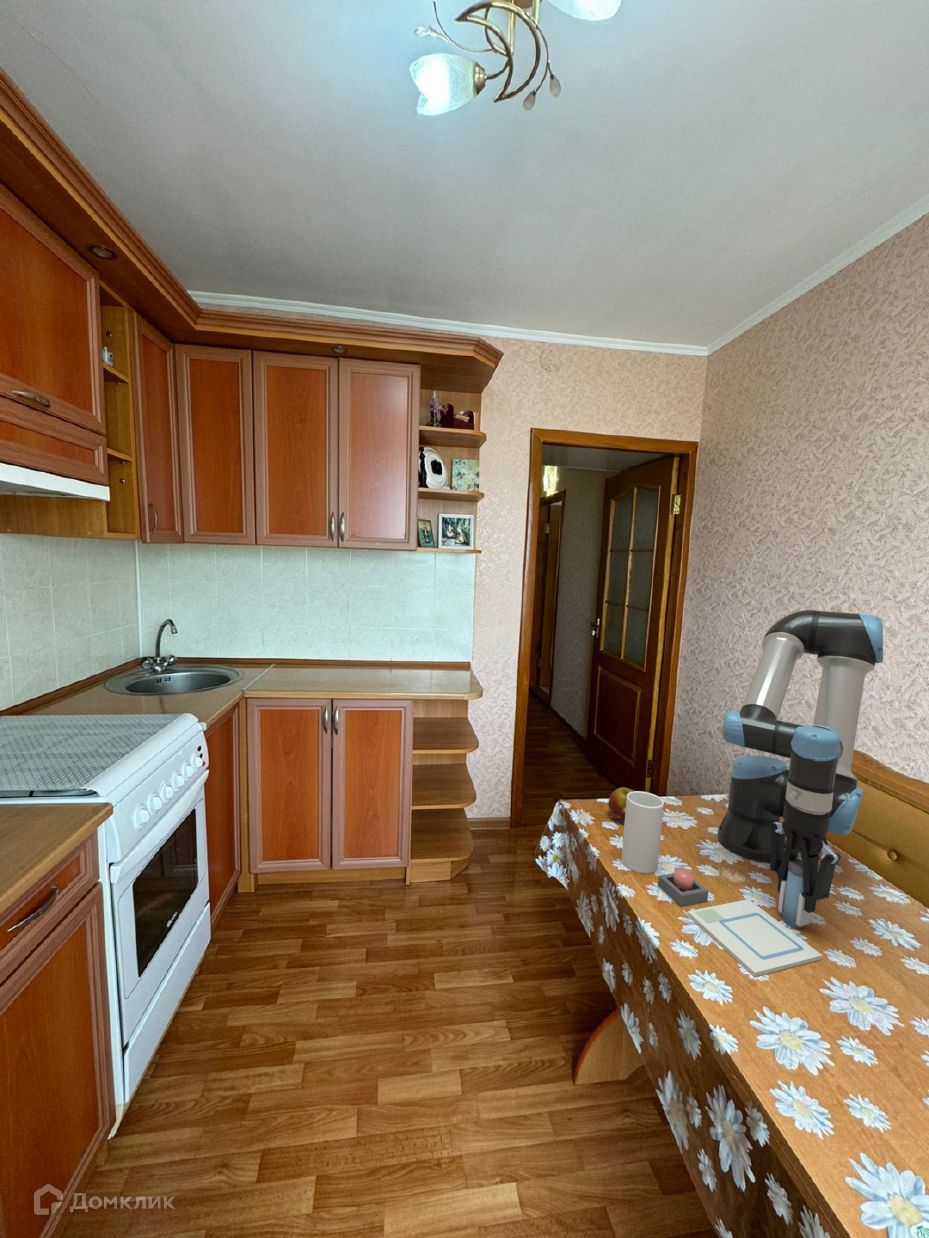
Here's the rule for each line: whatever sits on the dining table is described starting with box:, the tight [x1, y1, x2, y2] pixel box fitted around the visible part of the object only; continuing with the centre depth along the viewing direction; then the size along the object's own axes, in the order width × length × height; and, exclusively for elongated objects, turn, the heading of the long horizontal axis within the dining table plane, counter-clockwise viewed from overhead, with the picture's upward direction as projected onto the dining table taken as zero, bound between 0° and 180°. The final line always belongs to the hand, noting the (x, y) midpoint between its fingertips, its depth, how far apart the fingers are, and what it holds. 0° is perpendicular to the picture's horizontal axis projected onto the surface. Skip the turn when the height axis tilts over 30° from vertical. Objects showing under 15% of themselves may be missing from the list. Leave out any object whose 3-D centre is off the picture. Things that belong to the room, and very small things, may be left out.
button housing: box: [657, 872, 709, 907], centre depth 109 cm, size 7×7×2 cm
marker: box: [781, 858, 804, 929], centre depth 101 cm, size 4×4×12 cm
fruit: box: [608, 787, 635, 822], centre depth 141 cm, size 10×9×8 cm
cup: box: [620, 790, 665, 874], centre depth 119 cm, size 8×8×16 cm
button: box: [673, 867, 695, 891], centre depth 108 cm, size 4×4×2 cm
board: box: [686, 899, 823, 978], centre depth 97 cm, size 16×16×1 cm
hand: (793, 916), depth 101 cm, fingers closed on marker, 3 cm apart
